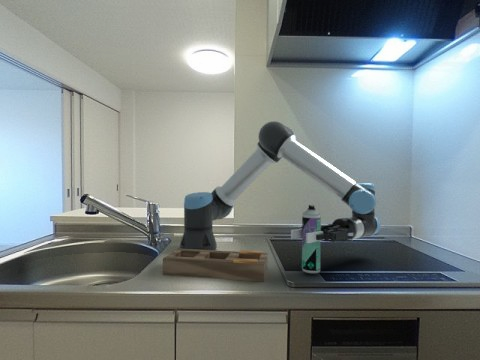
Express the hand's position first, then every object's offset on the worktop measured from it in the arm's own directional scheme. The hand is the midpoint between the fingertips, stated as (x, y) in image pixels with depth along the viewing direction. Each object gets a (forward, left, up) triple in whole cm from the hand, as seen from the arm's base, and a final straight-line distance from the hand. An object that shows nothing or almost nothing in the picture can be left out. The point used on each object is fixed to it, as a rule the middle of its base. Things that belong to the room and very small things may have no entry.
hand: (299, 236), depth 81 cm
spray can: (-4, +4, -11) cm, 12 cm away
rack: (-1, -25, -12) cm, 28 cm away
